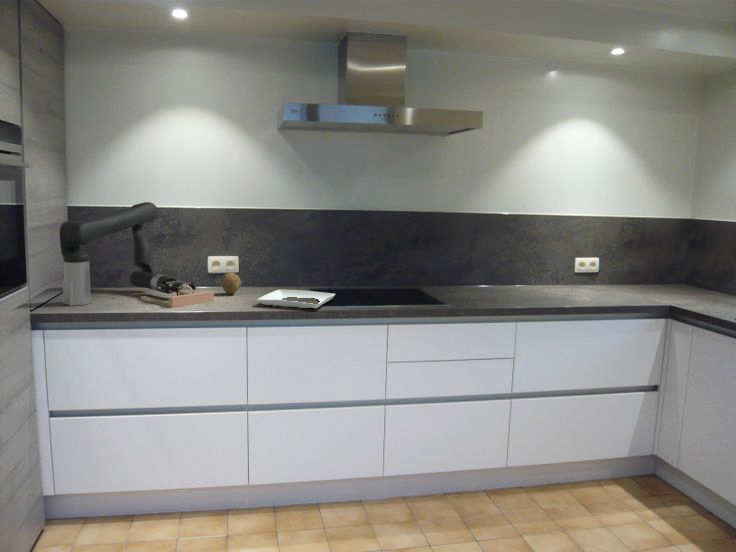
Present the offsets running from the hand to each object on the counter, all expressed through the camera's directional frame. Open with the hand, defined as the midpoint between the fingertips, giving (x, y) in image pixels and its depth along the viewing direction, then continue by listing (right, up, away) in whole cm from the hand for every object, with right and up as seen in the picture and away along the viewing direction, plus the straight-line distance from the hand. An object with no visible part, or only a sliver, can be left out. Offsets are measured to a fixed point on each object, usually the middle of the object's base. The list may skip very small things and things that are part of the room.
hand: (186, 288), depth 249 cm
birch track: (-6, -5, +6) cm, 10 cm away
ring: (-1, -6, +2) cm, 6 cm away
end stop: (+3, -6, -1) cm, 7 cm away
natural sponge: (+13, -3, +23) cm, 27 cm away
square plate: (+45, -7, +8) cm, 47 cm away
